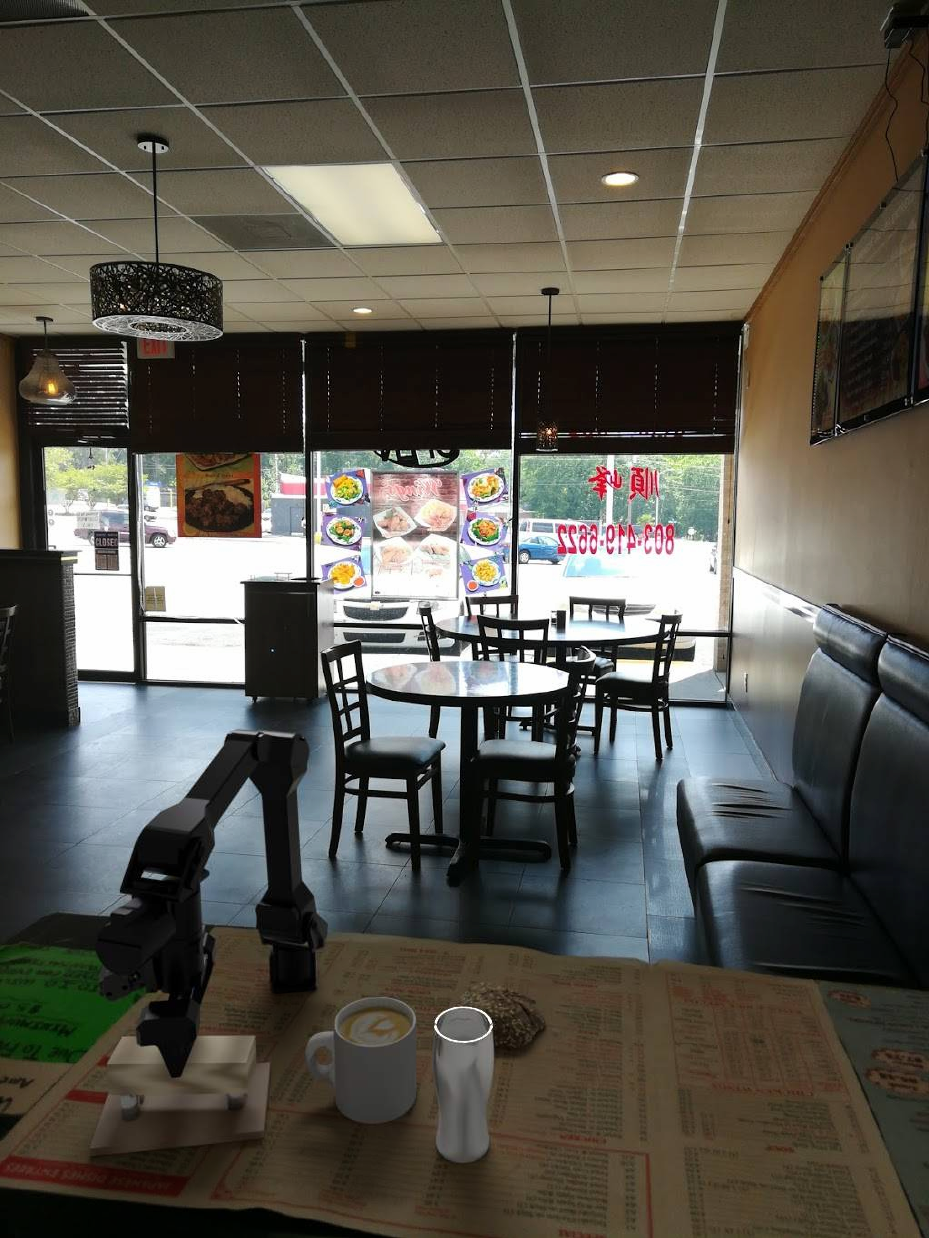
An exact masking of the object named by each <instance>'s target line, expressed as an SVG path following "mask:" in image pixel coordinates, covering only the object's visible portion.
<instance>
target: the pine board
mask: <svg viewBox="0 0 929 1238" xmlns="http://www.w3.org/2000/svg"><path fill="white" fill-rule="evenodd" d="M256 1047H257V1046H256V1035H197V1039H196V1040H195V1042H194V1045H193V1047H192V1050H191V1052H190V1055H189V1057H188V1060H187V1063H186V1065H185V1068H184V1070H183V1073H182V1076H181V1077H179V1078H171V1076H170V1074H169V1072H168V1069H167V1067H166V1065H165V1062H164V1060H163V1057H162V1055H161V1053H160V1051H159V1049H158V1048H157V1047H156V1046H143V1047H141V1046H139V1045H138V1044H137V1041H136V1035H135V1036H133V1035H132V1036H121V1039H120V1040H119V1042H118V1044H117V1046H116V1047H115V1049H114V1051H112V1052H113V1053H112V1054H111V1056H110V1058H109V1059H108V1061H107V1063H106V1071H107V1085H108V1094H109V1095H160V1094H247V1093H248V1090H249V1087H250V1084H251V1081H252V1078H253V1074H254V1071H255V1068H256V1063H257V1048H256Z"/></svg>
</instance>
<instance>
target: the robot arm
mask: <svg viewBox="0 0 929 1238" xmlns="http://www.w3.org/2000/svg"><path fill="white" fill-rule="evenodd" d="M309 757H310V746H309V744H308V741H307V739H306V737H304V736H303V735H302V734H301V733H298V732H290V731H289V732H288V731H281V730H280V731H278V730H268V729H256V730H250V729H249V730H248V729H239V728H237V729H233V730H230V731H229V732H227V733H226V736H225V738H224V741H223V746H222V747H221V748H220V749H219V750H218V752H217V753H216V755H214V757H213V758H212V760H211V762H210V763H209V765H207V766H206V768H205V769H204V771H203V772H202V773H201V775H200V776H199V777H198V779H197V780H196V781H195V782H194V784H193V785H192V786H191V788H190V789H189V790H188V792H187V793H186V794H185V796H184V797H183V798H182V799H181V800H180V801H179V802H178V803H176V804H174V805H172V806H169V807H167V808H165V809H163V810H161V811H160V812H158V813H157V814H156V815H155V816H154V817H153V818H152V819H151V820H150V821H149V822H148V823H147V824H146V825H145V826H144V827H143V828H142V829H141V831H140V833H139V835H138V836H137V837H136V841H135V843H134V846H133V848H132V852H131V855H130V856H129V857H130V858H129V861H128V863H127V866H126V870H125V872H124V876H123V878H122V881H121V884H120V887H119V894H121V895H128V896H131V897H130V898H131V899H130V900H128V901H127V902H126V903H125V904H123V905H122V906H118V907H117V908H115V909H114V910H112V911H111V912H110V913H109V923H107V924H106V925H104V926H103V927H102V928H100V930H99V932H98V933H97V935H96V936H97V937H96V940H95V941H94V949H95V950H94V951H95V953H96V956H97V958H98V960H99V962H100V963H101V965H102V968H101V969H100V972H99V974H98V977H97V979H98V983H97V984H98V986H99V991H98V995H99V996H100V997H102V998H104V997H105V999H106V1000H107V1001H109V1002H116V1001H118V1000H120V999H123V998H125V997H127V996H130V995H131V994H132V993H134V992H136V991H139V990H141V989H143V988H145V994H155V993H156V994H157V993H158V991H161V993H163V994H168V995H169V996H168V998H167V999H166V1000H151V1001H149V1002H148V1003H147V1004H146V1005H145V1006H144V1007H143V1008H142V1009H141V1012H140V1015H139V1018H138V1021H137V1024H136V1026H135V1036H136V1041H137V1044H138V1045H139V1046H141V1047H143V1046H156V1047H157V1048H158V1049H159V1051H160V1053H161V1055H162V1057H163V1060H164V1062H165V1065H166V1067H167V1069H168V1072H169V1074H170V1076H171V1078H179V1077H181V1076H182V1073H183V1070H184V1068H185V1065H186V1063H187V1060H188V1057H189V1055H190V1052H191V1050H192V1047H193V1045H194V1042H195V1040H196V1039H197V1036H199V1029H200V1026H201V1005H202V1003H203V999H204V996H205V995H206V990H207V987H208V985H209V982H210V980H211V976H212V974H213V973H212V972H213V969H214V965H215V958H216V954H217V941H216V938H215V937H214V936H213V935H211V934H210V933H209V932H206V924H203V913H202V911H203V909H202V892H201V891H202V889H201V888H202V887H201V886H202V885H201V883H202V882H203V881H205V880H206V879H207V878H209V876H210V874H211V873H210V870H208V869H207V868H205V867H206V865H207V863H208V860H209V859H210V857H211V854H212V853H213V850H214V849H215V847H216V840H215V838H216V837H215V829H216V827H217V826H218V825H217V824H219V821H220V820H221V819H222V817H223V816H224V815H225V812H226V811H227V810H228V809H229V807H230V806H231V804H232V802H233V801H234V799H235V798H236V797H237V795H238V793H239V792H240V791H241V789H242V788H243V786H244V785H245V783H246V782H247V780H248V779H249V780H250V781H251V783H252V784H253V786H254V787H255V788H256V790H257V791H258V793H260V795H261V803H262V804H261V805H262V821H263V835H264V837H263V838H264V849H265V862H266V863H265V864H266V865H265V866H266V877H267V878H266V879H267V889H266V890H265V892H264V894H263V896H262V898H261V899H260V901H259V902H258V903H257V905H256V906H255V908H254V910H255V917H256V919H255V920H256V924H255V930H257V932H258V935H259V939H260V942H261V945H263V946H272V947H270V949H269V954H268V968H269V970H268V971H269V982H270V983H272V987H271V988H272V993H286V992H299V991H309V990H310V991H311V990H313V991H314V990H316V989H318V978H319V977H318V976H319V975H318V972H319V971H318V968H319V967H318V966H319V965H318V962H317V950H319V949H323V948H324V947H325V946H326V939H327V938H328V933H329V932H328V928H329V923H328V922H327V921H326V920H325V919H323V917H322V916H320V915H319V914H318V912H317V905H316V899H315V895H314V894H313V893H312V892H311V890H310V889H309V887H308V885H306V883H305V882H304V881H303V874H302V873H303V872H302V871H303V870H302V854H301V838H300V837H301V835H300V823H299V822H300V821H299V806H298V805H299V803H298V802H299V801H298V787H299V785H300V784H301V782H302V780H303V778H304V776H305V775H306V773H307V771H308V761H309ZM144 873H149V874H155V875H161V876H165V877H163V878H162V879H155V878H150V877H143V874H144ZM204 955H206V956H204Z"/></svg>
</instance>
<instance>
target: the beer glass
mask: <svg viewBox="0 0 929 1238" xmlns="http://www.w3.org/2000/svg"><path fill="white" fill-rule="evenodd" d="M432 1037H433V1039H432V1047H431V1048H432V1052H431V1056H432V1057H431V1061H432V1062H431V1063H432V1065H431V1067H432V1075H433V1076H432V1077H433V1082H434V1088H435V1093H436V1099H437V1103H438V1111H439V1112H438V1113H439V1121H438V1127H437V1132H436V1137H435V1146H436V1149H437V1151H438V1152H439V1154H440V1155H441V1156H442V1157H443V1158H444V1159H446V1160H448V1161H450V1162H453V1163H458V1164H468V1163H473V1162H475V1161H477V1160H480V1159H481V1158H483V1156H485V1154H486V1153H487V1151H488V1149H489V1147H490V1136H489V1132H488V1131H489V1130H488V1126H487V1108H488V1103H489V1099H490V1093H491V1088H492V1084H493V1077H494V1071H495V1069H494V1068H495V1047H494V1040H493V1023H492V1020H491V1018H490V1017H489V1016H488V1015H487V1014H486V1013H484V1012H483V1011H481V1010H478V1009H475V1008H471V1007H456V1008H455V1007H452V1008H448V1009H446V1010H443V1011H442V1012H440V1013H439V1014H438V1015H437V1016H436V1018H435V1020H434V1023H433V1036H432Z"/></svg>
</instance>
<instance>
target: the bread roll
mask: <svg viewBox="0 0 929 1238" xmlns="http://www.w3.org/2000/svg"><path fill="white" fill-rule="evenodd" d="M536 1002H537V1001H536V1000H535V999H534V998H530V997H529V996H528V995H525V994H523V993H520V992H518V991H515V990H512V989H510V988H507V987H502V986H499V985H495V984H492V983H490V982H489V983H488V982H487V983H486V982H485V981H482V982H481V983H478V984H476V985H474V986H472V987H470V988H469V989H467V990H466V991H465V992H464V993H463V994H462V995H461V996H460V998H459V999H458V1001H457V1003H456V1004H455V1007H454V1008H456V1007H471V1008H475V1009H478V1010H481V1011H483V1012H484V1013H486V1014H487V1015H488V1016H489V1017H490V1018H491V1020H492V1023H493V1040H494V1048H498V1047H497V1046H502V1047H501V1048H508V1047H509V1048H510V1047H514V1048H513V1049H518V1048H522V1046H523V1047H526V1046H527V1045H529V1044H530V1043H531V1042H532V1040H533V1039H534V1037H535V1036H536V1033H538V1031H542V1030H543V1029H544V1028H545V1027H546V1026H547V1023H546V1019H545V1018H544V1015H543V1014H542V1013H540V1011H539V1010H538V1009H537V1008H536ZM526 1044H527V1045H526ZM525 1045H526V1046H525ZM515 1047H517V1048H515Z"/></svg>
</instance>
